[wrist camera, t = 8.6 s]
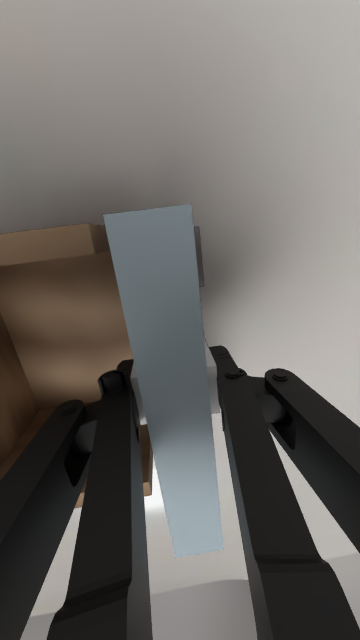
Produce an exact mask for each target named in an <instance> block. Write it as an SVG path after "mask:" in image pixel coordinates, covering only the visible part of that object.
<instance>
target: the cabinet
mask: <svg viewBox="0 0 360 640" xmlns="http://www.w3.org/2000/svg"><path fill="white" fill-rule="evenodd" d="M194 237H195V248H196V259H197V269H198V280H199V287H202V286H204V277H203V265H202V254H201V242H200V230H199V227H194ZM129 359H133V355H132V351H131V346H130V341H129V336H128V332H127V327H126V322H125V317H124V313H123V308H122V303H121V298H120V294H119V289H118V284H117V279H116V275H115V270H114V265H113V261H112V256H111V251H110V246H109V242H108V237H107V232H106V227H104V226H99V225H94V224H89V223H85V224H77V225H69V226H60V227H52V228H44V229H36V230H28V231H20V232H12V233H4V234H0V481H1V479H2V478H3V477H4V475H5V474H6V473H7V471H8V470H9V469H10V467H11V466H12V465H13V464H14V462H15V461H16V460H17V458H18V457H19V456H20V454H21V453H22V452H23V450H24V449H25V448H26V446H27V445H28V444H29V443H30V441H31V440H32V439H33V437H34V436H35V435H36V433H37V432H38V431H39V429H40V428H41V427H42V425H43V424H44V423H45V422H46V420H47V419H48V418H49V416H50V415H51V414H52V412H53V411H54V410H55V409H56V408H57V407H58V406H60V405H61V404H63V403H64V402H67V401H70V400H75V399H76V400H81V401H83V403H84V406H85V405H88V404H91V403H94V402H96V401H98V400H100V399H101V396H102V395H101V392H100V388H99V384H98V381H97V380H98V378H99V377H100V376H101V375H102V374H104V373H106V372H108V371H111V370H116V369H117V366H118V364H119V363H120V362H121V361H122V360H129ZM138 426H139V430H140V442H141V458H142V474H143V491H144V496H150V495H152V469H153V450H152V445H151V441H150V436H149V431H148V426H147V424H143V425H141V424H140V420H139V421H138ZM86 482H87V479H86V481H85V484H84V486H83V489H82V491H81V493H80V496H79V498H78V501H77V503H76V505H75V508H79V507H82V505H83V499H84V493H85V487H86Z"/></svg>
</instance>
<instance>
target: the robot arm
mask: <svg viewBox="0 0 360 640" xmlns="http://www.w3.org/2000/svg"><path fill="white" fill-rule="evenodd" d="M204 343H205V354H206V365H207V375H208V386H209V396H210V407H211V414H214V413H220V408H221V413H222V426H223V431H224V434H225V440H226V446H227V452H228V458H229V464H230V471H231V477H232V483H233V489H234V495H235V501H236V507H237V513H238V519H239V525H240V531H241V537H242V543H243V549H244V555H245V561H246V567H247V573H248V579H249V585H250V591H251V597H252V603H253V609H254V616H255V623H256V630H257V639H258V640H360V629H359V627H358V624H357V622H356V620H355V617H354V615H353V613H352V610H351V608H350V606H349V603H348V601H347V598H346V596H345V594H344V592H343V589H342V587H341V585H340V583H339V581H338V579H337V576H336V574H335V572H334V571H333V569H332V568H331V566H330V565H329V563H327V562H326V561H324V560H323V559H322V558H321V557H320V555H319V553H318V551H317V549H316V547H315V544H314V542H313V539H312V537H311V534H310V532H309V529H308V527H307V524H306V522H305V519H304V517H303V514H302V512H301V509H300V507H299V504H298V502H297V499H296V496H295V494H294V491H293V489H292V486H291V484H290V481H289V479H288V476H287V474H286V471H285V469H284V466H283V464H282V461H281V459H280V456H279V454H278V451H277V449H276V446H275V444H274V441H273V439H272V436H271V434H270V431H271V433H272V434H273V435H274V437H275V438H276V439H277V441H278V442H279V444H280V445H281V446H282V448H283V449H284V450H285V452H286V453H287V454H288V456H289V457H290V459H291V460H292V461H293V463H294V464H295V465H296V467H297V468H298V470H299V471H300V472H301V474H302V475H303V476H304V478H305V479H306V480H307V482H308V483H309V485H310V486H311V487H312V489H313V490H314V491H315V493H316V494H317V496H318V497H319V498H320V500H321V501H322V502H323V504H324V505H325V506H326V508H327V509H328V511H329V512H330V513H331V515H332V516H333V517H334V519H335V520H336V522H337V523H338V524H339V526H340V527H341V528H342V530H343V531H344V532H345V534H346V535H347V537H348V538H349V539H350V541H351V542H352V543H353V545H354V546H355V547H356V549H357V550H358V552H359V553H360V427H358V426H357V425H356V424H355V423H354V422H352V421H351V420H350V419H349V418H347V417H346V416H345V415H344V414H343V413H341V412H340V411H339V410H338V409H336V408H335V407H334V406H333V405H331V404H330V403H329V402H328V401H327V400H325V399H324V398H323V397H322V396H320V395H319V394H318V393H317V392H316V391H314V390H313V389H312V388H311V387H309V386H308V385H307V384H306V383H304V382H303V381H302V380H301V379H300V378H298V377H297V376H296V375H295V374H293V373H292V372H290V371H288V370H285V369H280V368H277V369H271V370H268V371H267V372H266V373H265V378H263V377H251V376H247V373H246V372H245V371H244V370H242V369H241V368H238V367H237V365H236V364H235V362H234V360H233V359H232V357H231V355H230V354H229V352H228V350H227V349H226V348H225V347H223V346H214V347H208V345H207V343H206V341H205V339H204ZM97 381H98V384H99V388H100V392H101V395H102V396H101V399H100V400H98V401H96V402H94V403H91V404H88V405H85V406H84V403H83V401H81V400H76V399H75V400H70V401H67V402H64V403H63V404H61V405H60V406H58V407H57V408H56V409H55V410H54V411H53V412H52V414H51V415H50V416H49V418H48V419H47V420H46V422H45V423H44V424H43V425H42V427H41V428H40V429H39V431H38V432H37V433H36V435H35V436H34V437H33V439H32V440H31V441H30V443H29V444H28V445H27V446H26V448H25V449H24V450H23V452H22V453H21V454H20V456H19V457H18V458H17V460H16V461H15V462H14V464H13V465H12V466H11V467H10V469H9V470H8V471H7V473H6V474H5V475H4V477H3V478H2V479H1V481H0V640H20V638H21V635H22V633H23V631H24V628H25V626H26V623H27V621H28V619H29V616H30V614H31V611H32V609H33V607H34V604H35V602H36V599H37V597H38V595H39V592H40V590H41V587H42V585H43V583H44V580H45V578H46V575H47V573H48V570H49V568H50V566H51V563H52V561H53V558H54V556H55V554H56V551H57V549H58V546H59V544H60V542H61V539H62V537H63V534H64V532H65V530H66V527H67V525H68V522H69V520H70V517H71V515H72V513H73V510H74V508H75V505H76V503H77V501H78V498H79V496H80V493H81V491H82V489H83V486H84V484H85V481H86V479H87V482H86V487H85V493H84V499H83V505H82V510H81V516H80V522H79V528H78V533H77V539H76V545H75V550H74V556H73V562H72V568H71V573H70V579H69V585H68V590H67V595H66V599H65V602H64V604H63V607H62V608H61V609H60V610H59V611H57V612H56V613H55V616H54V618H53V620H52V623H51V625H50V628H49V632H48V636H47V640H153V637H152V622H151V605H150V589H149V573H148V556H147V540H146V524H145V507H144V491H143V474H142V458H141V442H140V430H139V426H138V421H139V420H140V424H141V425H143V424H147V422H146V417H145V412H144V407H143V403H142V398H141V393H140V388H139V384H138V379H137V374H136V369H135V365H134V360H133V359H129V360H122V361H121V362H120V363H119V364H118V366H117V369H116V370H111V371H108V372H106V373H104V374H102V375H101V376H100V377H99V378H98V380H97ZM219 405H220V406H219ZM268 428H269V429H268ZM269 430H270V431H269Z"/></svg>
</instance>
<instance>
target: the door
mask: <svg viewBox="0 0 360 640" xmlns="http://www.w3.org/2000/svg"><path fill="white" fill-rule="evenodd" d="M103 218H104V223H105V227H106V232H107V237H108V242H109V246H110V251H111V256H112V261H113V265H114V270H115V275H116V279H117V284H118V289H119V294H120V298H121V303H122V308H123V313H124V317H125V322H126V327H127V332H128V336H129V341H130V346H131V351H132V355H133V360H134V365H135V369H136V374H137V379H138V384H139V388H140V393H141V398H142V403H143V407H144V412H145V417H146V422H147V426H148V431H149V436H150V441H151V445H152V450H153V455H154V459H155V464H156V469H157V474H158V478H159V483H160V488H161V493H162V497H163V502H164V507H165V512H166V516H167V521H168V526H169V531H170V535H171V540H172V545H173V549H174V554H175V558H179V557H185V556H190V555H196V554H201V553H207V552H213V551H218V550H224V545H223V534H222V524H221V513H220V503H219V492H218V481H217V471H216V460H215V449H214V439H213V428H212V418H211V407H210V396H209V386H208V375H207V365H206V354H205V343H204V333H203V322H202V312H201V301H200V290H199V280H198V269H197V259H196V248H195V237H194V227H193V216H192V206H191V204H186V205H178V206H169V207H161V208H153V209H145V210H137V211H129V212H121V213H113V214H104V215H103Z"/></svg>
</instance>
